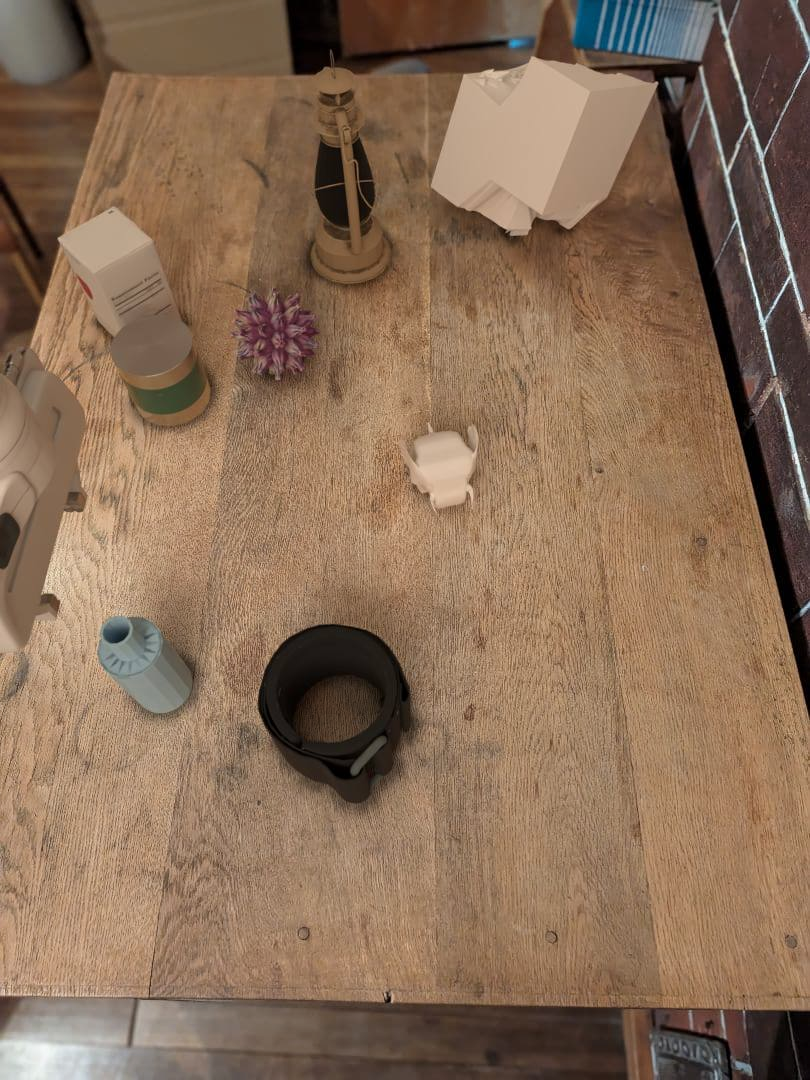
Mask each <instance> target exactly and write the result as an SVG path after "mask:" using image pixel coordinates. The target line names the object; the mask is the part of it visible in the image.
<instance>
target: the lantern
mask: <svg viewBox="0 0 810 1080" xmlns="http://www.w3.org/2000/svg"><path fill="white" fill-rule="evenodd" d="M329 56H330V65H331V67H329V66H324V67H323V69H322V70H320V71H319V72H317V73H316V74H315V75H314V76H313V77H312V85H313V87H314V88H315V89H316V90H317V101H316V103H317V110H315V111H314V113H313V114H312V117H311V126H312V127H313V129H314V130H315V131H316V132H317V133H318V134H319V137H320V140H319V144H318V150H317V156H316V157H317V158H316V164H315V166H314V168H313V171H312V175H311V187H312V190H311V192H310V194H311V195H312V196H313V197H314V199H315V202H316V205H317V209H318V210H319V211H320V212H319V213H320V214H321V216H322V217H323V218H322V219H321V220H320V222H319V223H318V224H317V225H316V228H315V232H314V238H315V241H314V243H313V245H312V247H311V250H310V260H311V264H312V268H313V269H314V270H315V271H316V272H317V273H318V274H319V275H320V276H321V277H323V278H324V279H327V280H329V281H330V282H333V283H339V284H343V285H351V284H361V283H364V282H368V281H370V280H373V279H375V278H376V277H377V276H379V275H381V274H382V273H383V272H384V271H385V270H386V269H387V267H388V265H389V264H390V262H391V255H392V250H391V247H390V244H389V240H387V238H386V237H384V232H383V231H384V230H383V228H382V224H381V222H380V221H379V220H378V219H377V218H376V217H375V216H374V215H373V213H374V210H376V208H377V207H378V203H379V198H378V189H379V176H378V172H377V169H376V166H375V164H374V162H373V161H372V159H371V158H370V157H369V155H368V154H367V153H366V150H365V147H364V145H363V142H362V140H361V138H360V129H362V128H363V126H364V124H365V114H364V112H363V110H362V109H361V108H359V107H358V106H356V98H355V92H354V90H353V87H354V86H356V83H357V78H356V75H355V74H354V73H353V72H352V71H351V70H349V69H347V68H343V67H336V66H335V58H334V53H333V50H332V49H329ZM369 161H370V162H369ZM370 163H371V165H372V166H373V169H374V171H375V177H376V180H374V175H373V173H372V168H371V165H370ZM375 186H376V190H375Z"/></svg>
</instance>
